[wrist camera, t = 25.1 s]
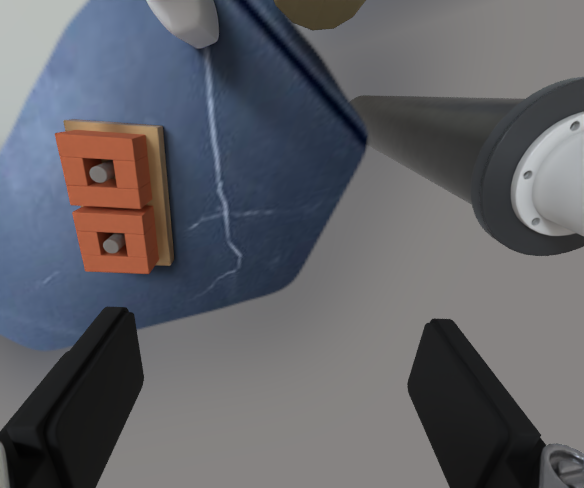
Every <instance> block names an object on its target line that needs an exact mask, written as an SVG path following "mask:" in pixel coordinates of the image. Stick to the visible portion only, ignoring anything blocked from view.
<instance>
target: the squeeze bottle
mask: <svg viewBox="0 0 584 488" xmlns="http://www.w3.org/2000/svg"><path fill="white" fill-rule="evenodd" d="M365 1H366V0H274V2H275V4H276V6H277V7H278V8H279V9H280V10H281V11H282V12H283V13H284V14H285V15H286V16H287V17H288V18H289V19H290V20H291V21H292V22H293V23H295V24H298V25H300V26H303V27H305V28H308V29H310V30H322V29H332V28H335V27H337V26H339V25H340V24H342V23H344V22H345V21H347V20H349V19H350V18H352V17H353V16H354V15H355V14H356V12H357V11H358V10H359V8H360V7H361V6H362V5H363V3H364V2H365Z"/></svg>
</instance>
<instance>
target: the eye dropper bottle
mask: <svg viewBox="0 0 584 488" xmlns="http://www.w3.org/2000/svg"><path fill="white" fill-rule="evenodd" d="M146 1H147V3H148V5H149V6H150V8H151V9H152V11H153V12H154V14H155V15H156V17H157V18H158V19H159V21H160V22H161V23H162V24H163V25H164V26H165V27H166V29H167V30H168V31H170V32H171V33H172V34H173V35H174V36H176V37H178V38H179V39H181V40H183V41H185V42H186V43H188V44H190V45H192V46H193V47H195V48H197V49H201V48H204V47H206V46H209V45H211V44H214V43H215V42H217V41H218V38H219V23H218V16H217V11H216V7H215V4H214V1H213V0H146Z"/></svg>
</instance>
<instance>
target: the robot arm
mask: <svg viewBox="0 0 584 488" xmlns="http://www.w3.org/2000/svg"><path fill="white" fill-rule="evenodd" d="M511 203H512V208H513V210H514V212H515V214H516V216H517V217H518V219H519V220H520V221H521V222H522V223H523V224H524V225H526V226H527V227H529V228H530V229H532V230H534V231H536V232H538V233H541V234H545V235H549V236H564V235H571V234H574V233H577V234H579V235H582V236H584V112H580V113H577V114H574V115H571V116H568V117H566V118H565V119H563V120H561V121H559V122H557V123H555V124H554V125H552V126H551V127H550V128H548V129H547V130H545V131H544V132H543V133H542V134H541V135H540V136H539V137H538V138H537V139H536V140H534V142H533V143H532V144H531V145H530V147H529V148H528V149H527V150H526V151H525V153H524V155H523V156H522V158H521V160H520V161H519V163H518V165H517V168H516V170H515V173H514V175H513V179H512V184H511ZM143 381H144V375H143V368H142V362H141V356H140V350H139V343H138V337H137V330H136V324H135V318H134V314H133V313H132V312H129V311H128V309H127V308H125V307H105V308H104V309H103V310H102V311H101V313H100V314H99V315H98V316H97V318H96V319H95V320H94V321H93V322H92V324H91V325H90V326H89V327H88V329H87V330H86V331H85V332H84V334H83V335H82V336H81V337H80V338H79V340H78V341H77V342H76V343H75V345H74V346H73V347H72V348H71V350H70V351H68V352H66V353H65V354H64V355H63V356H62V357H61V358H60V360H59V361H58V362H57V363H56V364H55V366H54V367H53V368H52V369H51V370H50V372H49V373H48V374H47V375H46V377H45V378H44V379H43V380H42V381H41V383H40V384H39V385H38V386H37V388H36V389H35V390H34V391H33V392H32V394H31V395H30V396H29V397H28V398H27V400H26V401H25V402H24V403H23V405H22V406H21V407H20V408H19V410H18V411H17V412H16V413H15V414H14V415H13V417H12V418H11V419H10V420H9V422H8V423H7V424H6V425H5V426H4V428H3V429H2V430H1V431H0V488H96V486H97V483H98V481H99V479H100V477H101V475H102V473H103V470H104V468H105V466H106V464H107V462H108V460H109V457H110V455H111V453H112V451H113V449H114V446H115V445H116V442H117V440H118V438H119V436H120V434H121V431H122V429H123V427H124V425H125V423H126V421H127V418H128V417H129V414H130V412H131V410H132V408H133V406H134V404H135V401H136V399H137V397H138V395H139V393H140V391H141V388H142V385H143ZM408 392H409V395H410V397H411V400H412V402H413V404H414V406H415V409H416V411H417V413H418V416H419V418H420V420H421V423H422V425H423V427H424V429H425V432H426V434H427V436H428V439H429V441H430V443H431V445H432V448H433V450H434V452H435V455H436V457H437V459H438V462H439V464H440V466H441V468H442V471H443V473H444V475H445V478H446V480H447V482H448V484H449V487H450V488H584V454H583V453H582V452H580V451H578V450H576V449H574V448H571V447H569V446H566V445H562V444H549V445H547V446H546V444H545V443H544V442H543V441H542V439H541V438H540V436H541V434H540V433H539V432H538V430H537V429H536V428H535V426H534V425H533V424H532V423H531V421H530V420H529V419H528V418H527V416H526V415H525V413H524V412H523V411H522V410H521V408H520V407H519V406H518V405H517V403H516V402H515V401H514V399H513V398H512V397H511V395H510V394H509V393H508V391H507V390H506V389H505V388H504V386H503V385H502V384H501V382H500V381H499V380H498V379H497V377H496V376H495V374H494V373H493V372H492V371H491V369H490V368H489V367H488V365H487V364H486V363H485V361H484V360H483V359H482V358H481V356H480V355H479V354H478V352H477V351H476V350H475V349H474V347H473V346H472V345H471V343H470V342H469V341H468V339H467V338H466V337H465V336H464V334H463V333H462V332H461V330H460V329H459V328H458V326H457V325H456V324H455V323H454V321H453V320H450V319H432V320H431V321H430V323H427V324H426V325H425V327H424V330H423V334H422V337H421V340H420V344H419V347H418V350H417V353H416V357H415V360H414V363H413V367H412V370H411V373H410V377H409V380H408Z"/></svg>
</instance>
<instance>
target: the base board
mask: <svg viewBox="0 0 584 488" xmlns="http://www.w3.org/2000/svg"><path fill="white" fill-rule="evenodd" d="M64 126H65V131H72V130H87V131H101V132H115V133H130V134H144V135H146V144H147V153H148V155H147V156H148V163H149V172H150V182H151V191H152V200H151V201H150V202H148V203H147V204H146V205H147V206H153V208H154V218H155V227H156V237H157V246H158V255H159V261H158V262H157V263H156V265H162V266H170V265H171V264H172V262H173V261H174V251H173V239H172V228H171V216H170V205H169V193H168V182H167V170H166V159H165V148H164V136H163V126H159V125H146V124H132V123H118V122H104V121H90V120H77V119H71V120H64ZM101 161H102V164H99V165H96V166H94V167H92V168H91V169H90V177H91V178H92V179H93V180H94V181H95V182H98V183H103V182H105V181H107V180H109V179H116V177H115V170H114V164H113V160H108V159H101ZM81 207H83V206H81ZM125 244H126V241H125V233H114V234H113V235H111V236H110V237H109V238H108V239H107V240H106V241H104V243H103V247H104V249H105V251H107V252H108V253H116V252H118V251H119V250H120V249H121V248H122V247H123V246H124V245H125Z"/></svg>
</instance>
